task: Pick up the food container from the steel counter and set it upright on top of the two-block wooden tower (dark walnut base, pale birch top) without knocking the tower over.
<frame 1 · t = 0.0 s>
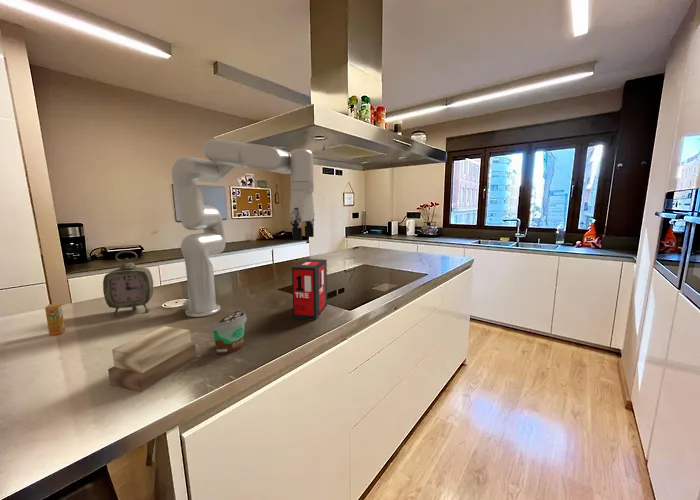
hand: (303, 238, 100), 31 cm above the counter, tool pointing down, fingers open, 9 cm apart
tower top block: (155, 355, 75), point 4 cm above the counter, touching tower base block
tabletop clock: (133, 312, 117), on the counter
food container: (235, 348, 87), on the counter
cleaning product box: (311, 312, 117), on the counter
tower base block: (157, 371, 76), on the counter, touching tower top block
supplement box: (57, 334, 97), on the counter
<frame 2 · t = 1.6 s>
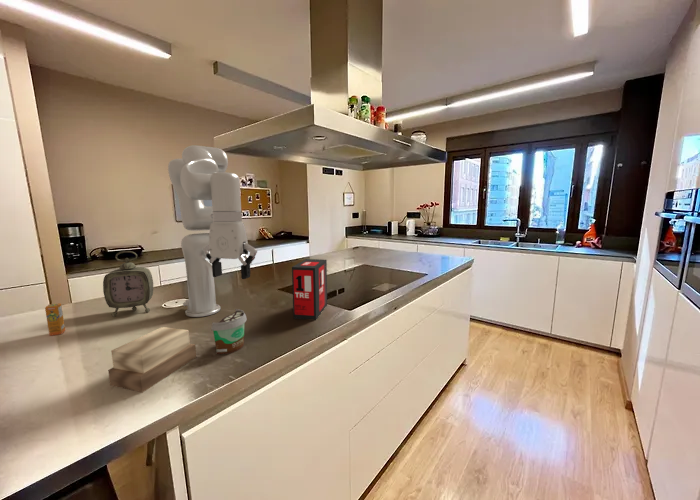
hand: (231, 277, 84), 22 cm above the counter, tool pointing down, fingers open, 9 cm apart
nothing on the counter moved.
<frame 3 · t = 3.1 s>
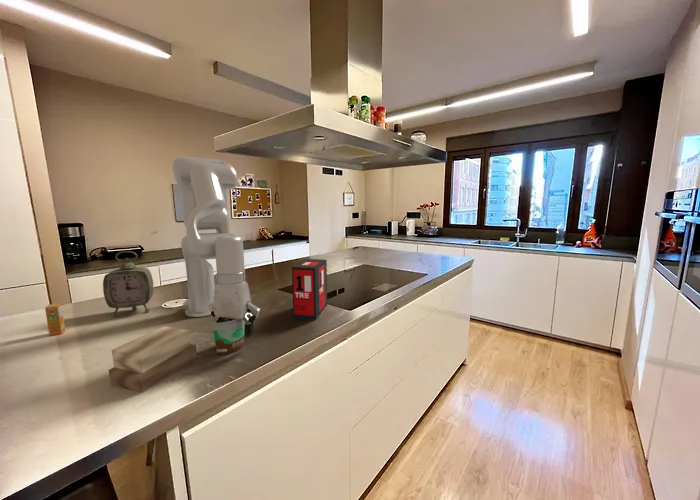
hand: (235, 334, 86), 4 cm above the counter, tool pointing down, fingers open, 9 cm apart
nothing on the counter moved.
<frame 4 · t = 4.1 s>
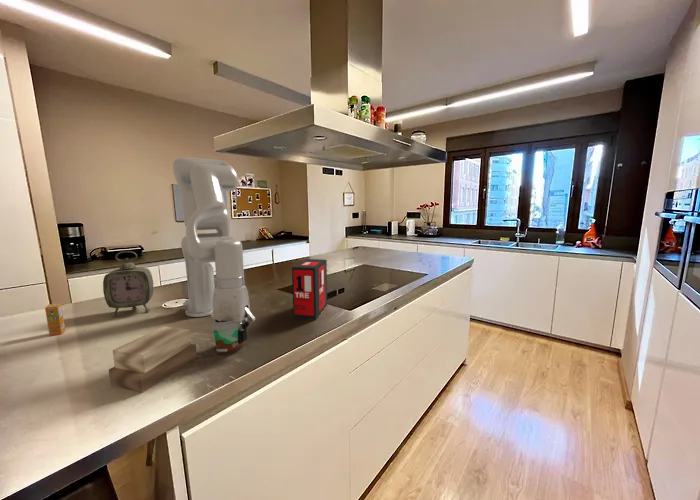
hand: (234, 339, 87), 2 cm above the counter, tool pointing down, fingers closed on food container, 5 cm apart
food container: (236, 348, 87), on the counter, touching gripper
everything else where it was.
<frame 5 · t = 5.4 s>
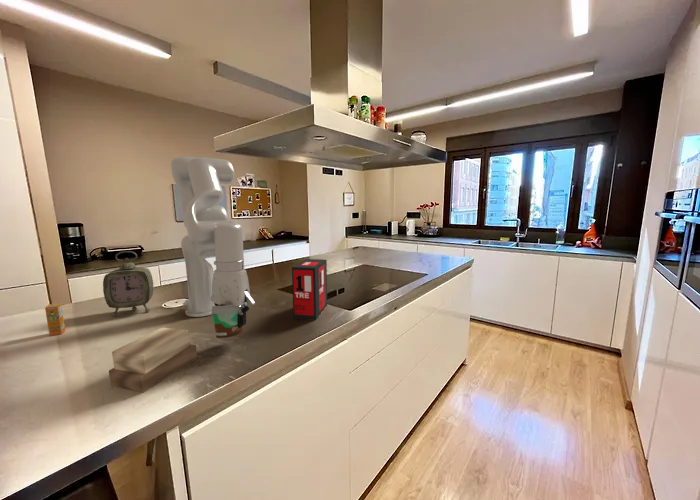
hand: (233, 324, 87), 7 cm above the counter, tool pointing down, fingers closed on food container, 5 cm apart
food container: (235, 332, 87), point 5 cm above the counter, touching gripper
everything else where it was.
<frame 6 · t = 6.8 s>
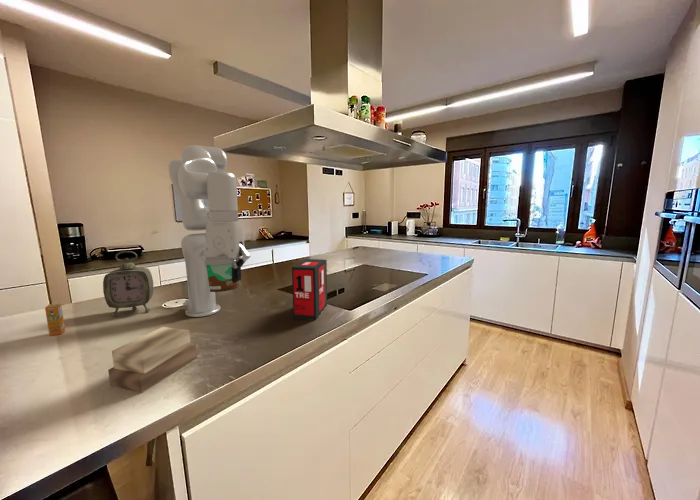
hand: (228, 279, 84), 21 cm above the counter, tool pointing down, fingers closed on food container, 5 cm apart
food container: (230, 288, 84), point 19 cm above the counter, touching gripper
everything else where it was.
when the fingers open (13 cm above the counter, at t = 10.3 s): food container drops 2 cm, resting on tower top block.
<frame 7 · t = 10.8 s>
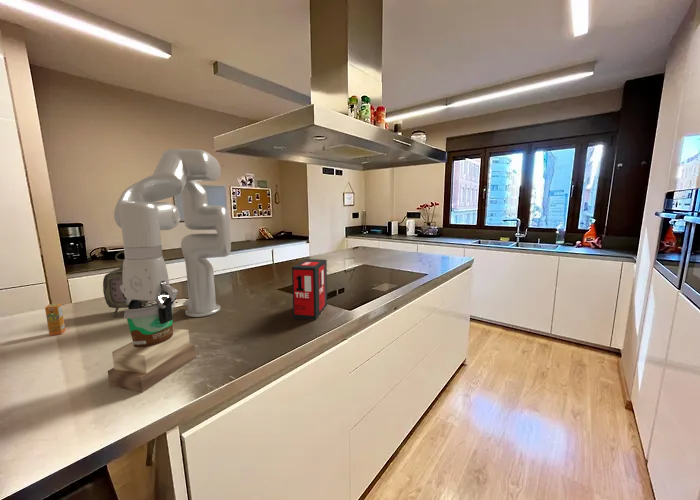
hand: (151, 319, 73), 14 cm above the counter, tool pointing down, fingers open, 9 cm apart
tower top block: (155, 356, 75), point 4 cm above the counter, touching food container, tower base block
food container: (161, 340, 74), point 8 cm above the counter, touching tower top block
everything else where it was.
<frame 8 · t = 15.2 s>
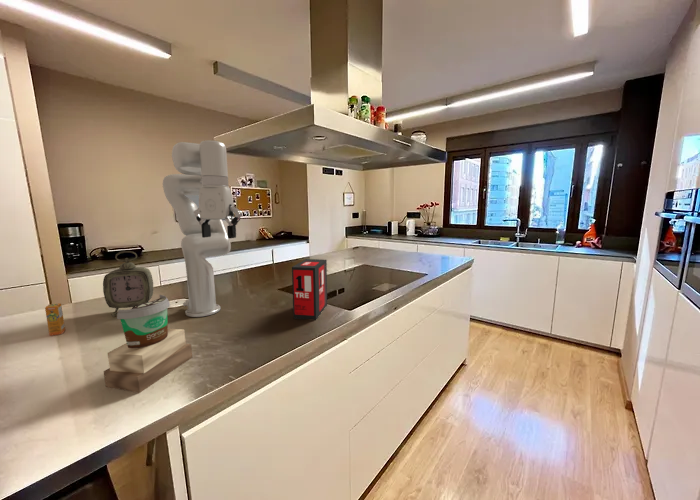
hand: (219, 237, 93), 32 cm above the counter, tool pointing down, fingers open, 9 cm apart
tower top block: (151, 356, 74), point 4 cm above the counter, touching tower base block
food container: (155, 340, 74), point 8 cm above the counter
at the end: food container 1.7 cm off-centre on the tower top block, point 4.4 cm above the tower top block's base; tower top block tilted 0°; tower base block moved 1.0 cm from its start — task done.
